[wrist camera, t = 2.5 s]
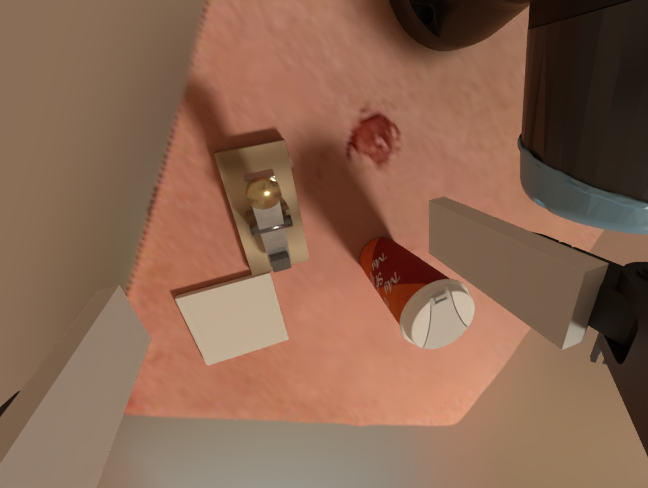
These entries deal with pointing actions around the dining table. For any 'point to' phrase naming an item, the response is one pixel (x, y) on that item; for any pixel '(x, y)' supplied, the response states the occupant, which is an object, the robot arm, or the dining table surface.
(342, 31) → the dining table surface
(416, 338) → the paper cup
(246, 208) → the lever base
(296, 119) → the dining table surface
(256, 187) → the lever
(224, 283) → the tile
